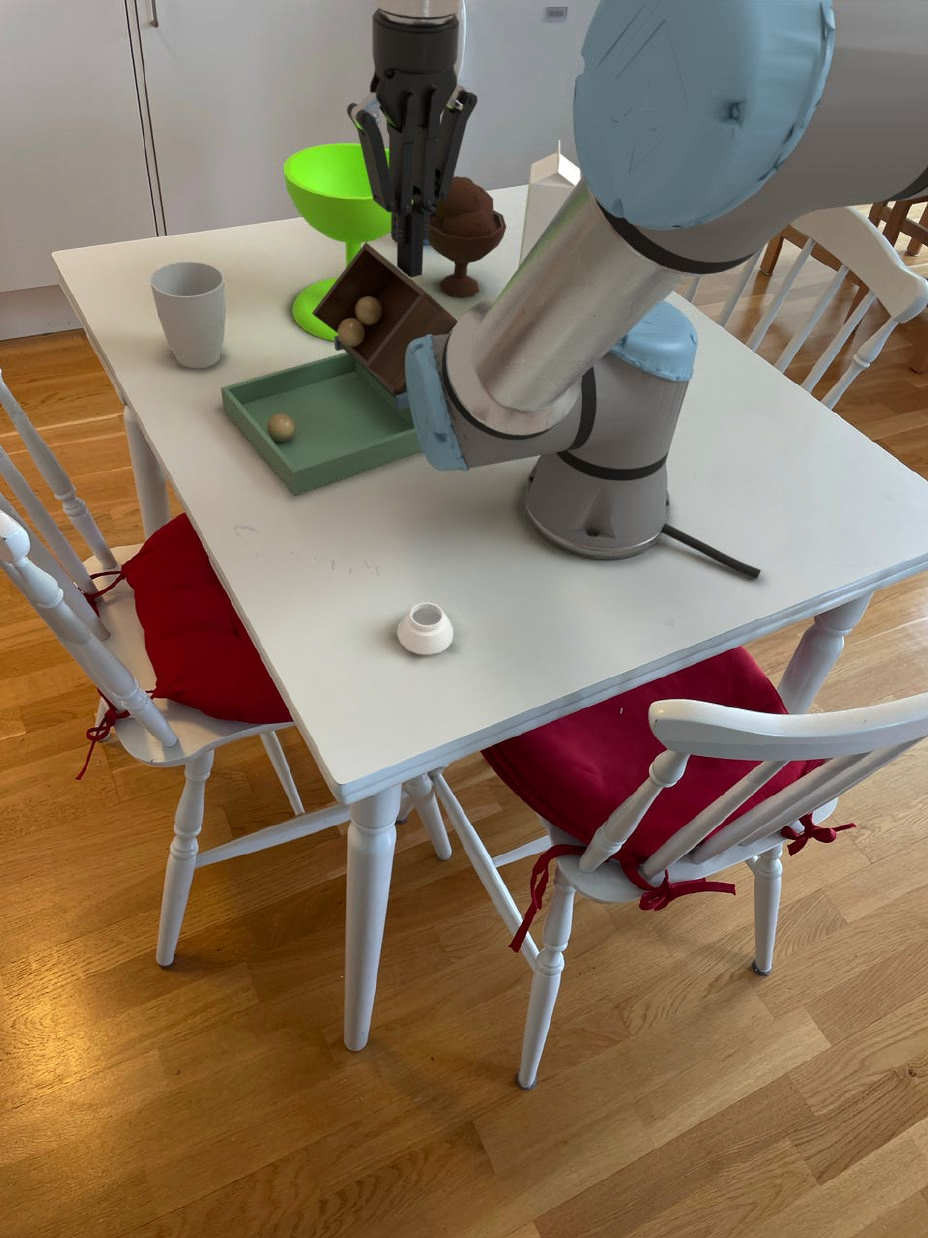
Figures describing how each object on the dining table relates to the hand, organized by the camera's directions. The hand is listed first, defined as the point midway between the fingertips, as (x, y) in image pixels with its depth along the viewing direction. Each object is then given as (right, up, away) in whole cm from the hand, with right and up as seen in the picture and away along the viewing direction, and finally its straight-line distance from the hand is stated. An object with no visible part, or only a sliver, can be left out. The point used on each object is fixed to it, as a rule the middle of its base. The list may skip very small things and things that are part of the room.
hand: (409, 270), depth 100 cm
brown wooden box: (-1, -5, +5) cm, 7 cm away
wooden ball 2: (-7, -5, +5) cm, 10 cm away
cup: (-26, -5, +16) cm, 31 cm away
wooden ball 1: (-14, -16, +4) cm, 21 cm away
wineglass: (-9, +4, +26) cm, 27 cm away
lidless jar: (+2, -38, -13) cm, 40 cm away
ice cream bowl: (+5, +9, +32) cm, 34 cm away
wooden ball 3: (-5, -3, +5) cm, 7 cm away
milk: (+15, +3, +27) cm, 31 cm away
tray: (-10, -15, +8) cm, 19 cm away
